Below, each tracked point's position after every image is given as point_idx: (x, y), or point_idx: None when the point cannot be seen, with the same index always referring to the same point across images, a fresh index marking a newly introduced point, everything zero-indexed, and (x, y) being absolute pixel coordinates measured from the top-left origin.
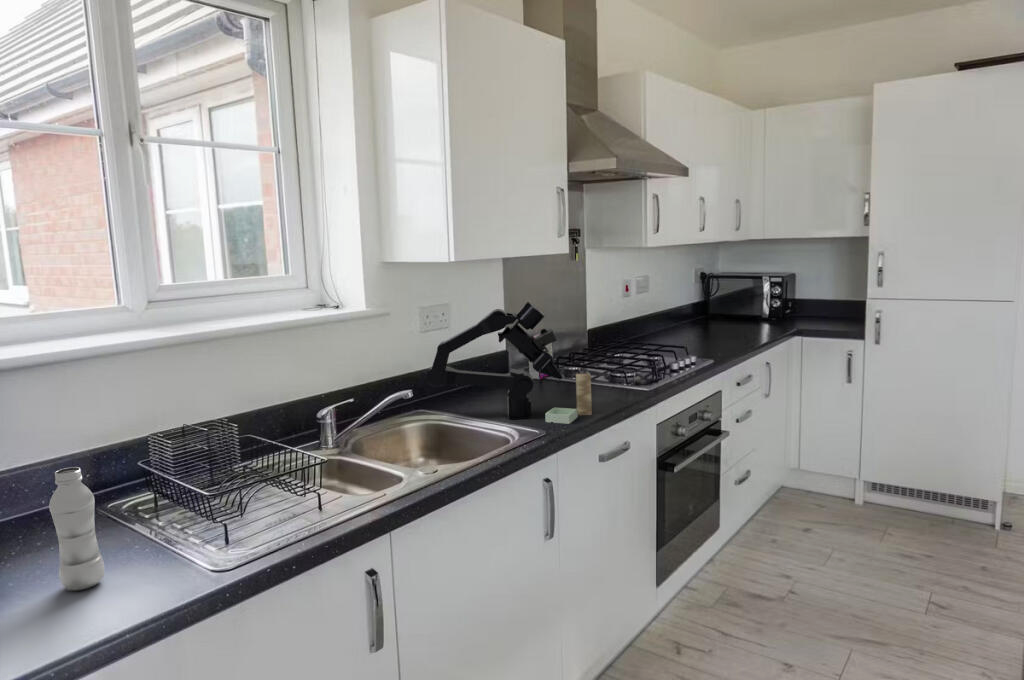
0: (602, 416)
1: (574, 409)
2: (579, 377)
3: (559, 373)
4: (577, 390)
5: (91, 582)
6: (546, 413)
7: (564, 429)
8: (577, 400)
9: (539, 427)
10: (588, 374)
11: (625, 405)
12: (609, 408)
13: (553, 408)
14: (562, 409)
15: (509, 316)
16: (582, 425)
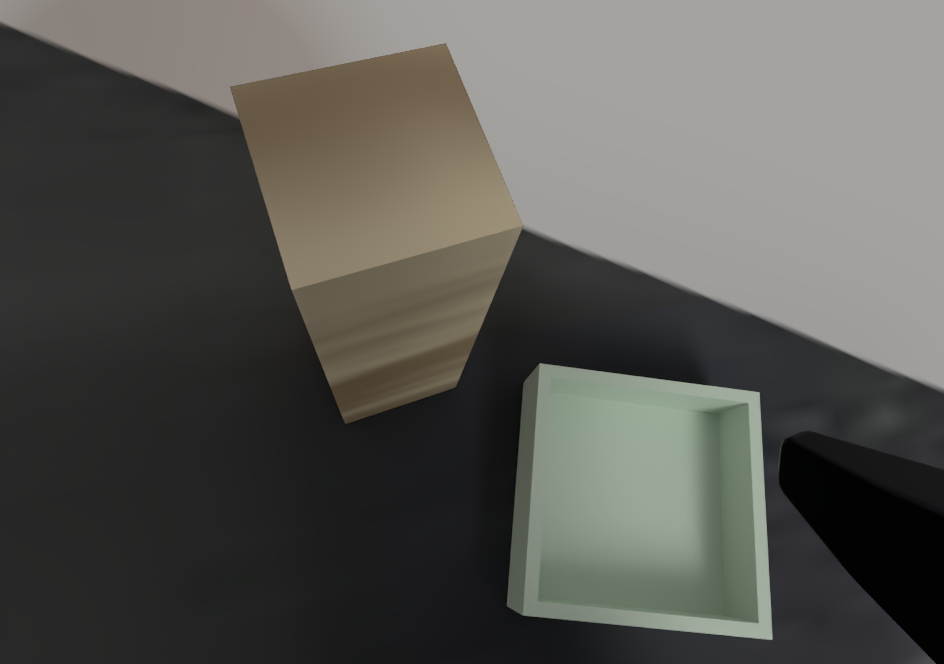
0: None
1: (550, 388)
2: (507, 205)
3: (926, 469)
4: (450, 326)
5: None
6: (766, 626)
7: (863, 412)
8: (416, 370)
9: (885, 632)
10: (337, 81)
11: (95, 77)
12: (200, 180)
13: (564, 609)
14: (540, 512)
15: None
16: (729, 306)
